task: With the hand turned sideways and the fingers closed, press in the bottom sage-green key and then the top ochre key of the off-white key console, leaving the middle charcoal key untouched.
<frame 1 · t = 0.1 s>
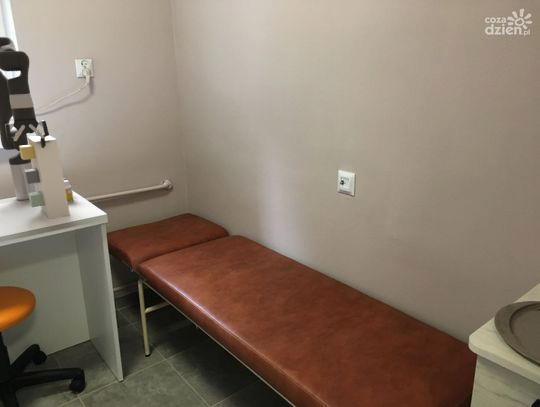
hand: (31, 149, 170), 29 cm above the table, tool pointing down, fingers open, 8 cm apart
supplement bottle: (67, 201, 206), on the table
ochre key: (29, 151, 179), point 27 cm above the table, slide at 0.0 cm
medicine box: (60, 197, 213), on the table
charcoal key: (34, 175, 182), point 17 cm above the table, slide at 0.0 cm
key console: (55, 211, 189), on the table
sage key: (39, 198, 184), point 7 cm above the table, slide at 0.0 cm
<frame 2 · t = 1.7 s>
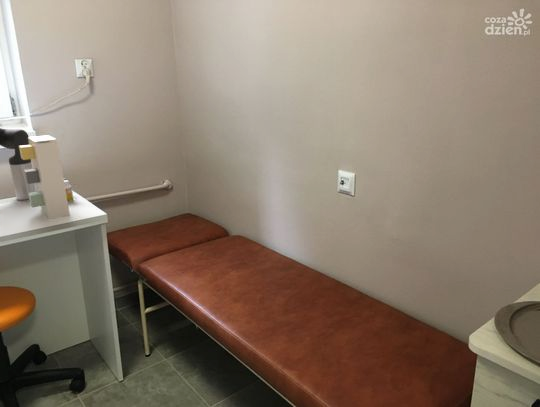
nothing on the table moved.
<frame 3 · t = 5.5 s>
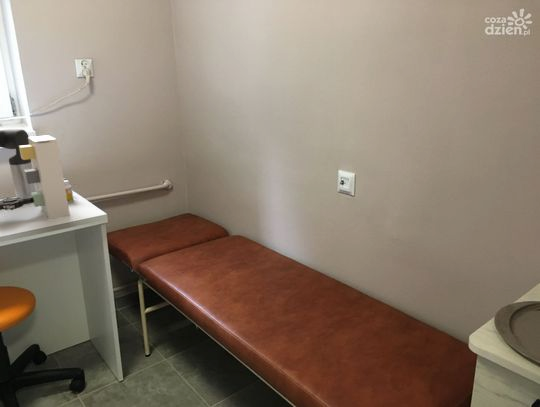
hand: (33, 199, 183), 7 cm above the table, tool horizontal, fingers closed
sage key: (41, 198, 185), point 7 cm above the table, slide at 1.1 cm, touching gripper
everything else where it was.
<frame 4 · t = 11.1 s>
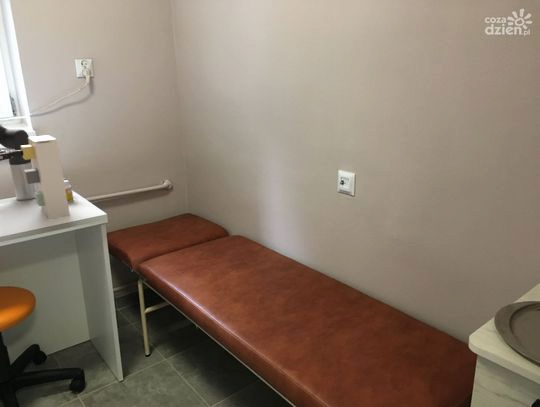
hand: (22, 152, 177), 27 cm above the table, tool horizontal, fingers closed
ochre key: (31, 151, 179), point 27 cm above the table, slide at 0.7 cm, touching gripper
sage key: (45, 197, 186), point 7 cm above the table, slide at 2.4 cm
everything else where it was.
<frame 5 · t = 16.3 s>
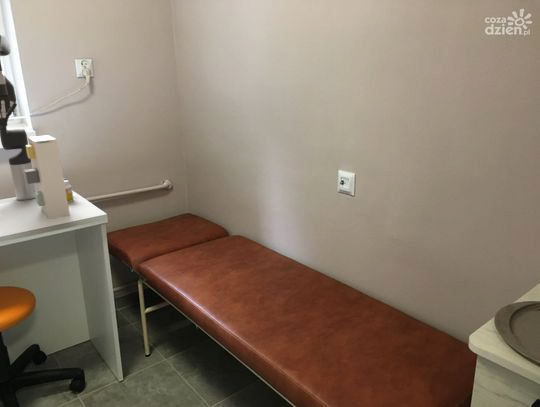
hand: (3, 127, 178), 37 cm above the table, tool pointing down, fingers closed
ochre key: (36, 151, 180), point 27 cm above the table, slide at 2.4 cm
everything else where it was.
at the end: sage key slide at 2.4 cm; ochre key slide at 2.4 cm; charcoal key slide at 0.0 cm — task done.
